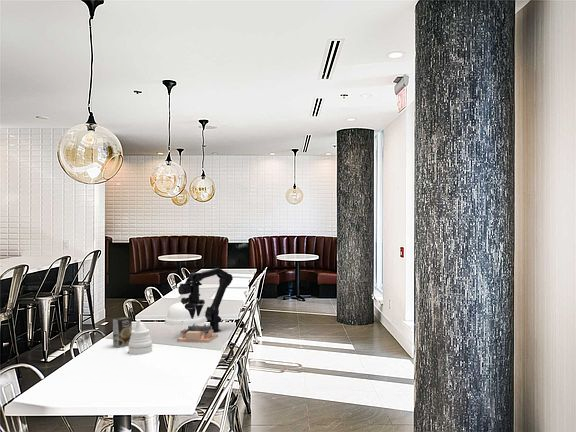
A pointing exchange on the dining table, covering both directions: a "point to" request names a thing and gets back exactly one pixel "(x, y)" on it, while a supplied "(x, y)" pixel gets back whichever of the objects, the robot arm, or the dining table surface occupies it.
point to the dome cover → (183, 316)
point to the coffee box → (122, 331)
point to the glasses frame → (199, 328)
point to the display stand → (196, 336)
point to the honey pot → (140, 340)
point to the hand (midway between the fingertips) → (195, 317)
